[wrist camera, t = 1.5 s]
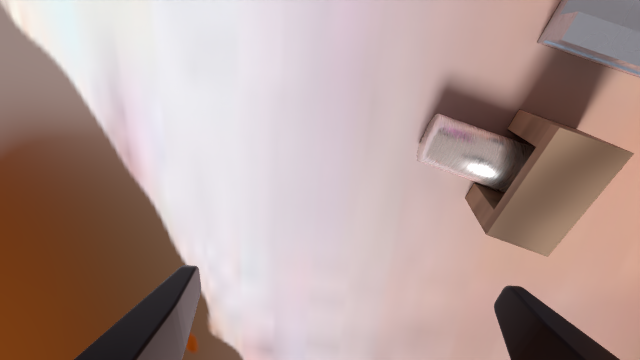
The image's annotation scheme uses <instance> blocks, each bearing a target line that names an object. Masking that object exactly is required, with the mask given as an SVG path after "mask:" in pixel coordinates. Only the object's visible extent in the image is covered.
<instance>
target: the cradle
mask: <svg viewBox="0 0 640 360" xmlns="http://www.w3.org/2000/svg"><path fill="white" fill-rule="evenodd" d="M538 43H541V44H543V45H546V46H549V47H552V48H555V49H558V50H561V51H564V52H567V53H570V54H573V55H576V56H578V57H581V58H584V59H587V60H590V61H593V62H596V63H599V64H602V65H605V66H608V67H611V68H614V69H616V70H619V71H622V72H625V73H628V74H631V75H634V76H637V77H640V0H561V2H560V4H559V6H558V7H557V9H556V11H555V12H554V14H553V16H552V18H551V19H550V21H549V23H548V25H547V26H546V28H545V30H544V32H543V33H542V35H541V37H540V38H539V40H538Z"/></svg>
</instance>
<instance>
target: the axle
mask: <svg viewBox="0 0 640 360" xmlns="http://www.w3.org/2000/svg"><path fill="white" fill-rule="evenodd" d="M534 150H535V147H532V146H529V145H526V144H523V143H520V142H518V141H515V140H512V139H509V138H506V137H503V136H501V135H498V134H495V133H492V132H489V131H486V130H484V129H481V128H478V127H475V126H472V125H469V124H467V123H464V122H461V121H458V120H455V119H452V118H450V117H447V116H444V115H441V114H436V115H435V116H434V117H433V118H432V120H431V121H430V123H429V125H428V127H427V129H426V131H425V133H424V135H423V137H422V139H421V141H420V144H419V147H418V151H417V161H419V162H422V163H424V164H427V165H430V166H433V167H436V168H438V169H441V170H444V171H447V172H450V173H452V174H455V175H458V176H461V177H464V178H466V179H469V180H472V181H475V182H478V183H480V184H483V185H486V186H489V187H492V188H494V189H497V190H500V191H503V192H505V193H506V191H507V190H508V188H509V187H510V185H511V184H512V182H513V181H514V179H515V178H516V177H517V175H518V174H519V172H520V171H521V169H522V168H523V166H524V165H525V163H526V162H527V160H528V159H529V157H530V156H531V154H532V153H533V151H534Z"/></svg>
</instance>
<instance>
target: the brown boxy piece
mask: <svg viewBox="0 0 640 360" xmlns="http://www.w3.org/2000/svg"><path fill="white" fill-rule="evenodd" d="M508 129H509V130H510V131H512V132H513V133H515V134H516V135H518V136H520V137H521V138H523V139H524V140H526V141H528V142H529V143H531V144H532V145H534V146H535V147H536V148H535V150H534V151H533V153H532V154H531V156H530V157H529V159H528V160H527V162H526V163H525V165H524V166H523V168H522V169H521V171H520V172H519V174H518V175H517V177H516V178H515V179H514V181H513V182H512V184H511V185H510V187H509V188H508V190H507V191H506V193H505V194H504V193H501V192H499V191H496V190H493V189H490V188H487V187H485V186H482V185H479V184H476V183H474V184H473V186H472V188H471V189H470V191H469V193H468V194H467V196H466V198H465V199H466V201H467V202H468V204H469V206H470V208H471V209H472V211H473V213H474V215H475V216H476V218H477V220H478V221H479V223H480V225H481V227H482V228H483V230H484V232H485V234H486V235H489V236H491V237H494V238H497V239H500V240H502V241H505V242H508V243H511V244H514V245H516V246H519V247H522V248H525V249H527V250H530V251H533V252H536V253H539V254H541V255H544V256H547V257H548V256H549V255H550V254H551V252H552V251H553V250H554V249H555V248H556V246H557V245H558V244H559V243H560V242H561V240H562V239H563V238H564V237H565V236H566V234H567V233H568V232H569V231H570V230H571V228H572V227H573V226H574V225H575V224H576V222H577V221H578V220H579V219H580V218H581V216H582V215H583V214H584V213H585V212H586V210H587V209H588V208H589V207H590V206H591V204H592V203H593V202H594V201H595V200H596V198H597V197H598V196H599V195H600V194H601V192H602V191H603V190H604V189H605V188H606V186H607V185H608V184H609V183H610V182H611V180H612V179H613V178H614V177H615V176H616V174H617V173H618V172H619V171H620V170H621V168H622V167H623V166H624V165H625V164H626V163H627V161H628V160H629V159H630V158H631V157H632V155H633V154H634V153H632V152H629V151H627V150H625V149H622V148H620V147H617V146H615V145H613V144H610V143H608V142H606V141H603V140H601V139H598V138H596V137H594V136H591V135H589V134H586V133H584V132H582V131H579V130H577V129H574V128H571V127H568V126H565V125H563V124H560V123H557V122H554V121H551V120H548V119H545V118H543V117H540V116H537V115H534V114H531V113H528V112H525V111H522V110H520V109H519V110H518V112H517V114H516V115H515V117H514V119H513V120H512V122H511V124H510V125H509V127H508Z"/></svg>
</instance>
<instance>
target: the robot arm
mask: <svg viewBox="0 0 640 360" xmlns="http://www.w3.org/2000/svg"><path fill="white" fill-rule="evenodd" d="M200 292H201V282H200V274H199V268H198V267H197V266H189V265H183V266H181V267H180V268H179V269H177V271H175V272H174V273H173V274H172V275H171V276H169V277H168V278H167V279H166V280H165V281H164V282H163V283H161V284H160V285H159V286H158V287H157V288H156V289H154V290H153V291H152V292H151V293H150V294H149V295H148V296H147V297H145V298H144V299H143V300H142V301H141V302H140V303H138V304H137V305H136V306H135V307H134V308H133V309H131V311H129V312H128V313H127V314H126V315H124V316H123V317H122V318H121V319H120V320H119V321H118V322H116V323H115V324H114V325H113V326H112V327H111V328H110V329H108V330H107V331H106V332H105V333H104V334H103V335H102V336H100V337H99V338H98V339H97V340H96V341H95V342H93V343H92V344H91V345H90V346H89V347H88V348H86V349H85V351H83V352H82V353H81V354H80V355H79V356H77V357H76V358H75V359H74V360H182V357H183V354H184V351H185V348H186V345H187V341H188V338H189V334H190V330H191V326H192V323H193V319H194V315H195V311H196V308H197V304H198V300H199V297H200ZM494 310H495V313H496V316H497V319H498V323H499V326H500V329H501V332H502V335H503V338H504V341H505V344H506V347H507V350H508V353H509V356H510V358H511V360H620V359H618V358H617V357H616V356H614V355H613V354H612V353H610V352H609V351H608V350H606V349H605V348H604V347H602V346H601V345H599V344H598V343H597V342H595V341H594V340H593V339H591V338H590V337H589V336H587V335H586V334H585V333H583V332H582V331H581V330H579V329H578V328H577V327H575V326H574V325H572V324H571V323H570V322H568V321H567V320H566V319H564V318H563V317H562V316H560V315H559V314H558V313H556V312H555V311H554V310H552V309H551V308H550V307H548V306H547V305H545V304H544V303H543V302H541V301H540V300H539V299H537V298H536V297H535V296H533V295H532V294H531V293H529V292H528V291H527V290H525V289H524V288H522V287H519V286H506V287H504V289H503V290H502V292H501V294H500V295H499V297H498V298H497V300H496V302H495V304H494Z"/></svg>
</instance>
